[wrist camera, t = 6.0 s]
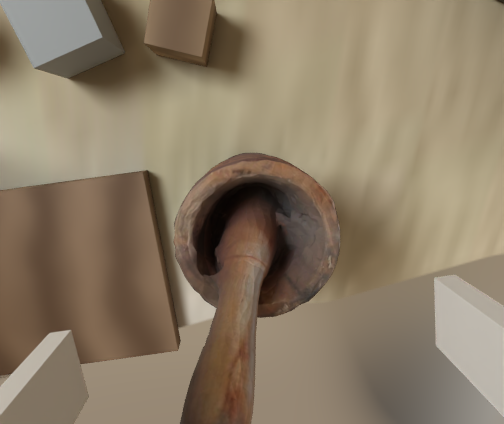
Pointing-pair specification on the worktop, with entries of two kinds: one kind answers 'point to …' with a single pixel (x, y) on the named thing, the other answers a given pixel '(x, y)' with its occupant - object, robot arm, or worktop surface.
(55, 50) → the slate grey cube
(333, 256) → the mortar and pestle
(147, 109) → the worktop surface
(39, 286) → the walnut board
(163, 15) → the dark oak block
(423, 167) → the worktop surface
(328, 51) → the worktop surface
